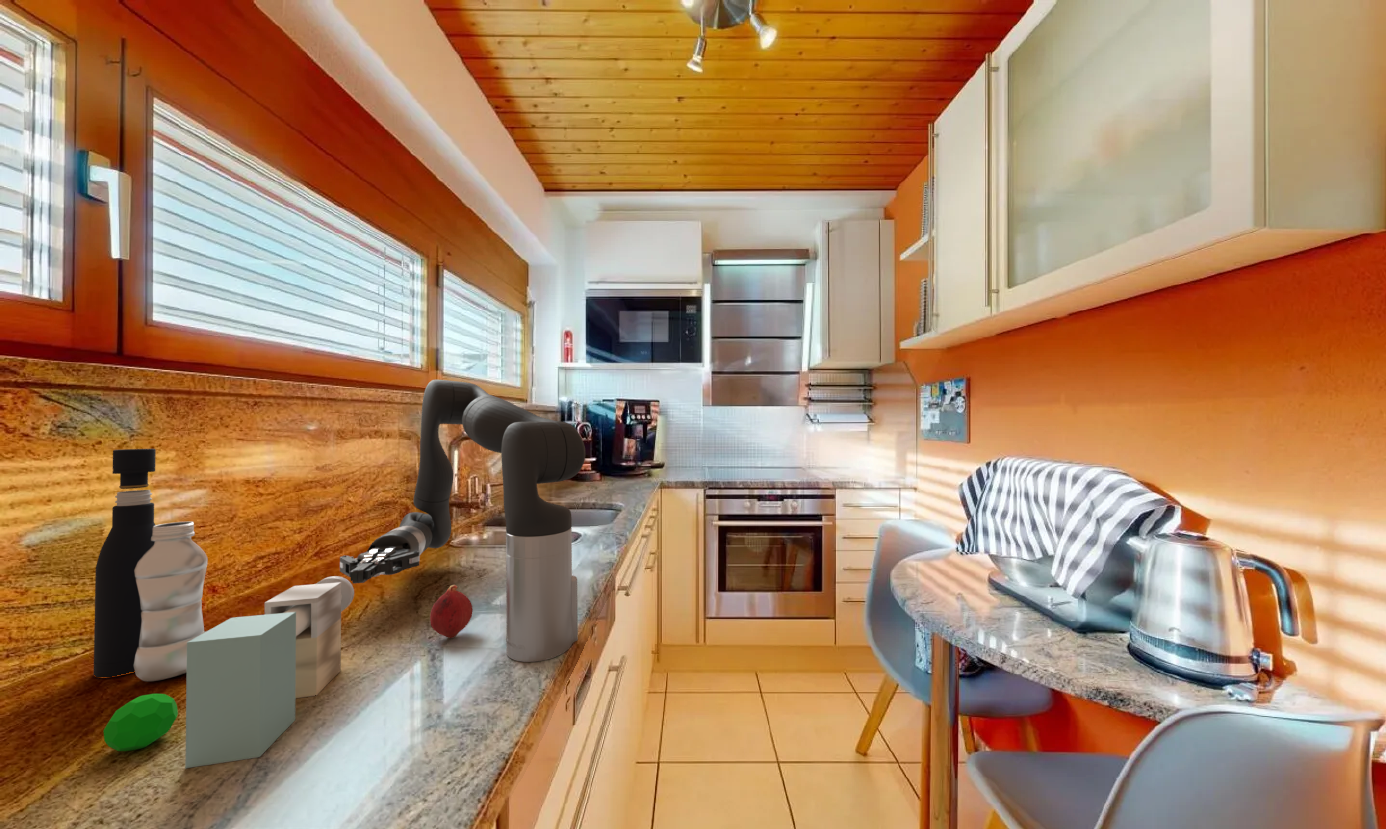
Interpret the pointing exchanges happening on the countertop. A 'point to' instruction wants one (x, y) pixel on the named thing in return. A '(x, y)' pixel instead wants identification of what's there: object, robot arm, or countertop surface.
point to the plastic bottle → (169, 601)
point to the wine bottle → (123, 566)
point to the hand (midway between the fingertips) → (357, 576)
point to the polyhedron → (140, 722)
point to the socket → (240, 688)
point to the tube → (305, 609)
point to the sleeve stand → (314, 634)
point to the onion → (451, 613)
